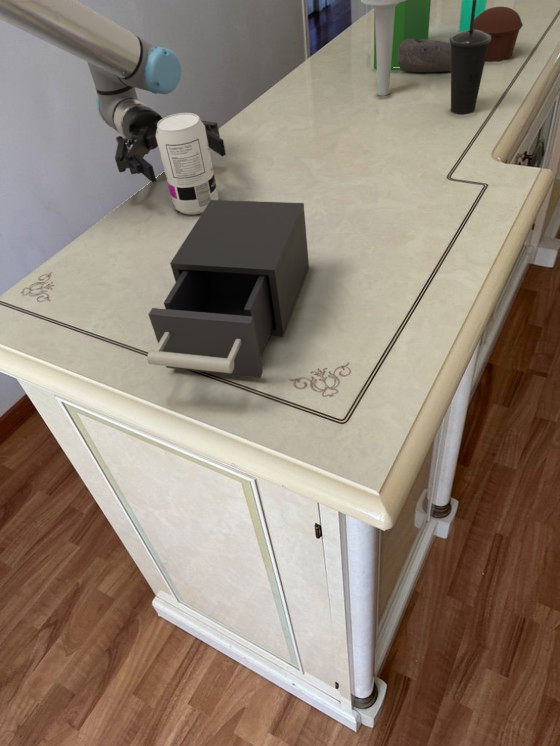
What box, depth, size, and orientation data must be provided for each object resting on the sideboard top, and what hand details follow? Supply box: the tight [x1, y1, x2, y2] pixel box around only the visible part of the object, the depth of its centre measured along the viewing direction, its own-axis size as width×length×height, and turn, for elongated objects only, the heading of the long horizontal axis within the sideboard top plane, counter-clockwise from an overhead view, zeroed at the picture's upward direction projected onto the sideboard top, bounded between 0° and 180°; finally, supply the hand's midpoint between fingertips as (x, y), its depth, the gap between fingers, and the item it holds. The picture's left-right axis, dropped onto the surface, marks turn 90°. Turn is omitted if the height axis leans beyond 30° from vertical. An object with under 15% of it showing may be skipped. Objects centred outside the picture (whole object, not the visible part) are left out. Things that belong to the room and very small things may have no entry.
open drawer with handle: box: [146, 270, 275, 379], centre depth 74 cm, size 20×13×9 cm, turn 166°
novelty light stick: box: [360, 0, 406, 97], centre depth 125 cm, size 10×10×25 cm
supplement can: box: [156, 112, 220, 216], centre depth 101 cm, size 8×8×15 cm
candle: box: [458, 0, 488, 33], centre depth 149 cm, size 6×6×12 cm
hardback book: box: [373, 0, 432, 71], centre depth 141 cm, size 18×7×24 cm, turn 150°
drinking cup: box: [449, 0, 491, 115], centre depth 116 cm, size 8×8×20 cm
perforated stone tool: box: [397, 38, 451, 73], centre depth 138 cm, size 15×5×7 cm, turn 70°
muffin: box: [473, 6, 523, 63], centre depth 140 cm, size 12×11×10 cm
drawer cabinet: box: [169, 199, 310, 337], centre depth 82 cm, size 16×14×11 cm
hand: (188, 161), depth 101 cm, fingers open, 13 cm apart
